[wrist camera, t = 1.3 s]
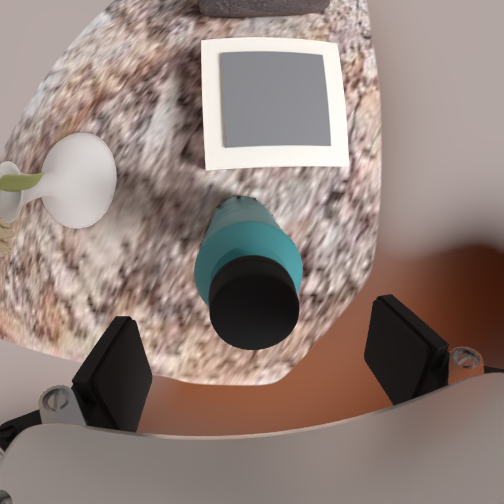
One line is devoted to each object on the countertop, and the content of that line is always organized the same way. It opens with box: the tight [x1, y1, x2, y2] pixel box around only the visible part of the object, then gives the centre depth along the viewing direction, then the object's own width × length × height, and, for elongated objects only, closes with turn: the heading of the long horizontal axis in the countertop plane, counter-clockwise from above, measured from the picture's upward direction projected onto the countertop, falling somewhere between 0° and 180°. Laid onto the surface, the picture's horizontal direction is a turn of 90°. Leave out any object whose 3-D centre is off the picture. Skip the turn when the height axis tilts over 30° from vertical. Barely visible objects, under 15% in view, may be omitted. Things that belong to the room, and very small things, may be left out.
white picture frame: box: [201, 37, 349, 171], centre depth 24 cm, size 14×14×4 cm
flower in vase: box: [0, 132, 117, 256], centre depth 15 cm, size 13×11×25 cm
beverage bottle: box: [194, 195, 302, 350], centre depth 20 cm, size 6×7×20 cm
